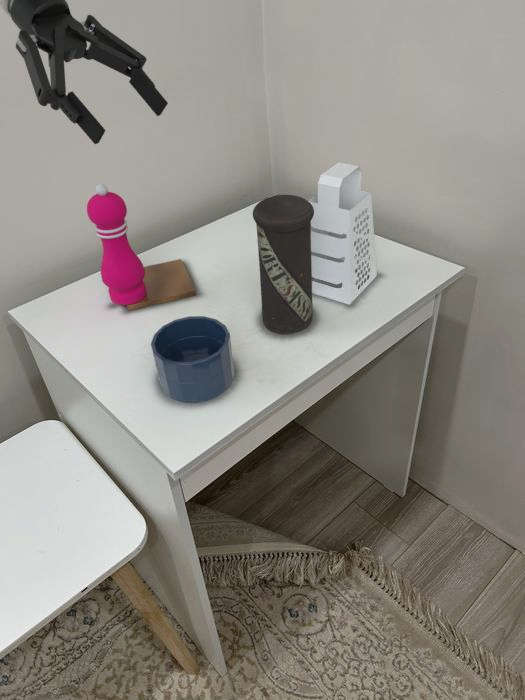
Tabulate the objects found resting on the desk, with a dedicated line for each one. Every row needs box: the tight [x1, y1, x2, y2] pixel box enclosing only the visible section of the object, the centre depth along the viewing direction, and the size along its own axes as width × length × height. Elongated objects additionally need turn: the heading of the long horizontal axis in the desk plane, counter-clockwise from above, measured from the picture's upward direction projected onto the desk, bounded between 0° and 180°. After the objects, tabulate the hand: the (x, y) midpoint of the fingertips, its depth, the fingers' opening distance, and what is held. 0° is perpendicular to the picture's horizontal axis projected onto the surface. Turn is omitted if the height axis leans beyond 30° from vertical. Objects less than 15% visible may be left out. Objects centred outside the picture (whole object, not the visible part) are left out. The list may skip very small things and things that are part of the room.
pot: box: [150, 315, 235, 404], centre depth 76 cm, size 11×11×7 cm
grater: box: [307, 162, 378, 305], centre depth 90 cm, size 10×10×20 cm
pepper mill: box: [86, 183, 147, 306], centre depth 88 cm, size 7×7×20 cm
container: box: [252, 194, 314, 335], centre depth 82 cm, size 9×9×20 cm
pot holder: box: [126, 258, 197, 312], centre depth 98 cm, size 12×12×1 cm
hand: (133, 123), depth 79 cm, fingers open, 13 cm apart
